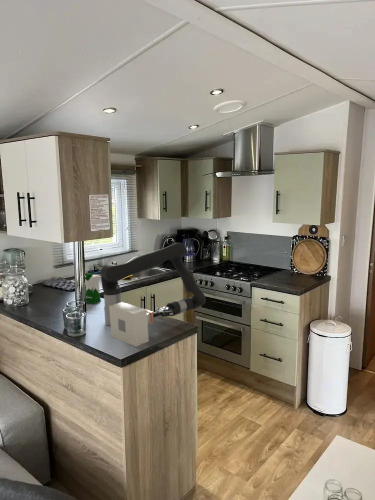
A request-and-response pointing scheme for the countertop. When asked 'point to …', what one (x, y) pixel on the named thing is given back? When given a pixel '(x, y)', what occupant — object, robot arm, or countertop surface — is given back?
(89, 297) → the milk carton
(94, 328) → the countertop surface
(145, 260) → the robot arm
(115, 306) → the key box
